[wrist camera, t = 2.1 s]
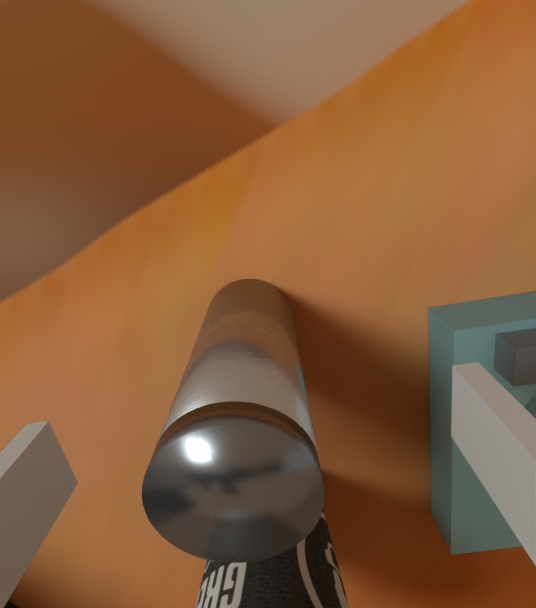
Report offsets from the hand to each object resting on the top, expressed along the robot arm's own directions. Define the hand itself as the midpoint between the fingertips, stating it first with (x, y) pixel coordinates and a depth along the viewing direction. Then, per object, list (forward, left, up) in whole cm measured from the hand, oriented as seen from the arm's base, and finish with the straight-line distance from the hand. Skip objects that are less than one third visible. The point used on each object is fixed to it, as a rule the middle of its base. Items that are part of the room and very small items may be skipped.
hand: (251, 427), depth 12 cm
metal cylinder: (0, 0, -9) cm, 9 cm away
